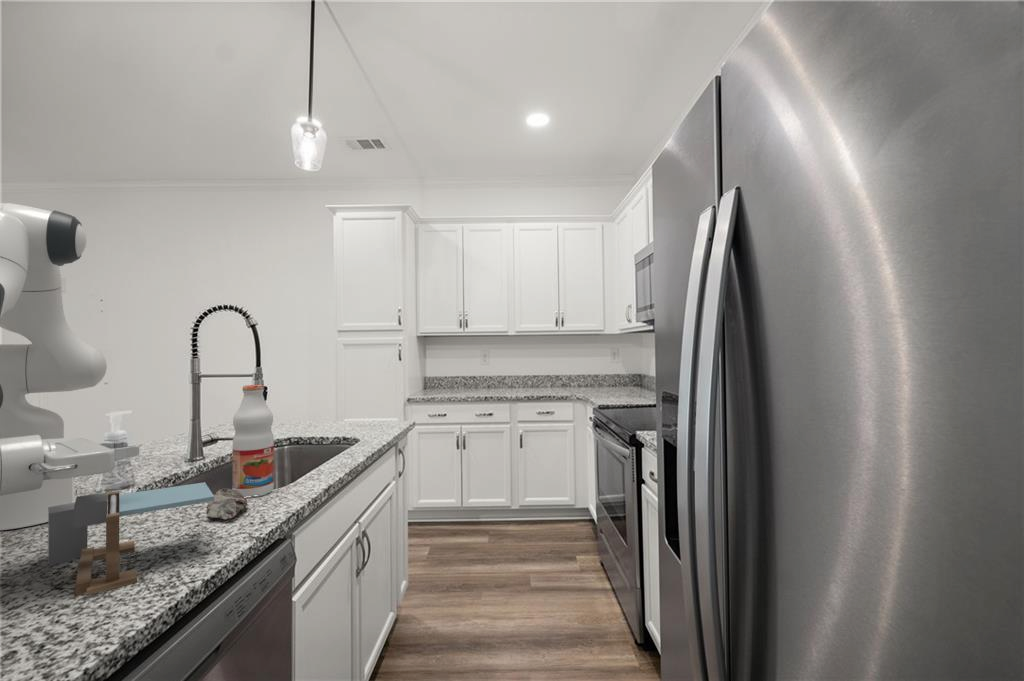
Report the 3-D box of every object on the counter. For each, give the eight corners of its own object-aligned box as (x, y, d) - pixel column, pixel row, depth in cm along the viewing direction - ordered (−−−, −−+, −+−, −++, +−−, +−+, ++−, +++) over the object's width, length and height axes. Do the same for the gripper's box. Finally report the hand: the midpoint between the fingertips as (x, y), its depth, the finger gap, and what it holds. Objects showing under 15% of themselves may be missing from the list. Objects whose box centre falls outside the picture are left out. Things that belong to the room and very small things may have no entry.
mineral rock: (238, 523, 100) (238, 502, 100) (195, 527, 98) (195, 506, 98) (255, 502, 114) (255, 484, 114) (219, 505, 112) (219, 486, 112)
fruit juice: (256, 486, 126) (256, 383, 127) (282, 489, 123) (281, 384, 123) (223, 496, 118) (223, 386, 118) (249, 500, 114) (249, 387, 115)
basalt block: (48, 556, 84) (48, 507, 84) (85, 548, 88) (85, 500, 88) (48, 565, 81) (48, 513, 81) (87, 556, 84) (87, 506, 84)
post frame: (82, 555, 84) (82, 495, 84) (134, 544, 89) (134, 487, 89) (74, 598, 70) (75, 525, 70) (137, 582, 74) (137, 513, 74)
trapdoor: (77, 512, 82) (78, 491, 82) (204, 492, 94) (204, 474, 94) (71, 534, 72) (72, 511, 72) (214, 509, 84) (214, 489, 84)
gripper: (37, 451, 68) (151, 437, 79) (14, 437, 80) (116, 426, 91) (36, 494, 68) (151, 473, 79) (13, 474, 80) (115, 458, 91)
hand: (132, 448), depth 85 cm, fingers open, 5 cm apart
